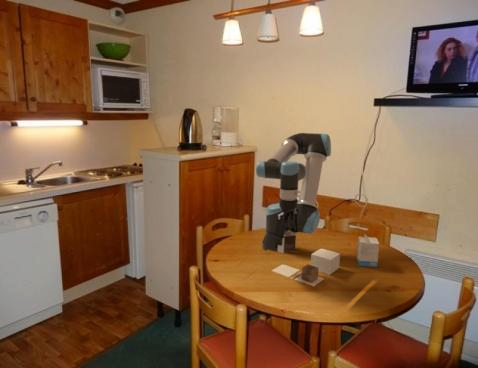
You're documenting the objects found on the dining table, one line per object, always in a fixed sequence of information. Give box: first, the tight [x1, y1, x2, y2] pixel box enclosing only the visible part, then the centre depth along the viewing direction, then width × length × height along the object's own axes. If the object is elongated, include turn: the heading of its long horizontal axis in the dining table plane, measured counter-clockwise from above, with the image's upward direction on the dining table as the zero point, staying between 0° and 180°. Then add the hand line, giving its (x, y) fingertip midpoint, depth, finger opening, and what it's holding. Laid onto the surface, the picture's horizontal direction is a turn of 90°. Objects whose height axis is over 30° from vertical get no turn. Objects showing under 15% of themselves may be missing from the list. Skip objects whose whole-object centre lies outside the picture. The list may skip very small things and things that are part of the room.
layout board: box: [289, 270, 325, 287], centre depth 150 cm, size 22×14×1 cm, turn 49°
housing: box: [310, 248, 341, 276], centre depth 155 cm, size 9×9×8 cm
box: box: [283, 230, 297, 253], centre depth 150 cm, size 6×6×7 cm
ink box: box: [356, 233, 380, 268], centre depth 163 cm, size 9×8×13 cm
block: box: [301, 263, 319, 283], centre depth 145 cm, size 5×5×5 cm
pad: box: [271, 264, 300, 278], centre depth 153 cm, size 9×9×1 cm
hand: (286, 248), depth 151 cm, fingers closed on box, 8 cm apart
